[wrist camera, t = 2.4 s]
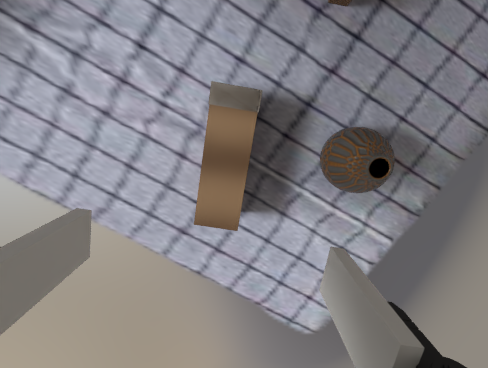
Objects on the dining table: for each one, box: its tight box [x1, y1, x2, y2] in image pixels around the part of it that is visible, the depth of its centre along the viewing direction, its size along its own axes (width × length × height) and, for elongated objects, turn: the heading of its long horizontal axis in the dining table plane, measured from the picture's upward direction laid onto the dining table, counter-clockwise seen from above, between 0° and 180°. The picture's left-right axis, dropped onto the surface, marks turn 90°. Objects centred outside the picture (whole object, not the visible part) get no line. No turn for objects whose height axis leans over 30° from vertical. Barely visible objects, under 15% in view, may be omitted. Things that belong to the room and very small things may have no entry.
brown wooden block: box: [194, 81, 262, 231], centre depth 28 cm, size 14×5×6 cm, turn 171°
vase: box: [320, 127, 394, 193], centre depth 27 cm, size 7×7×9 cm
